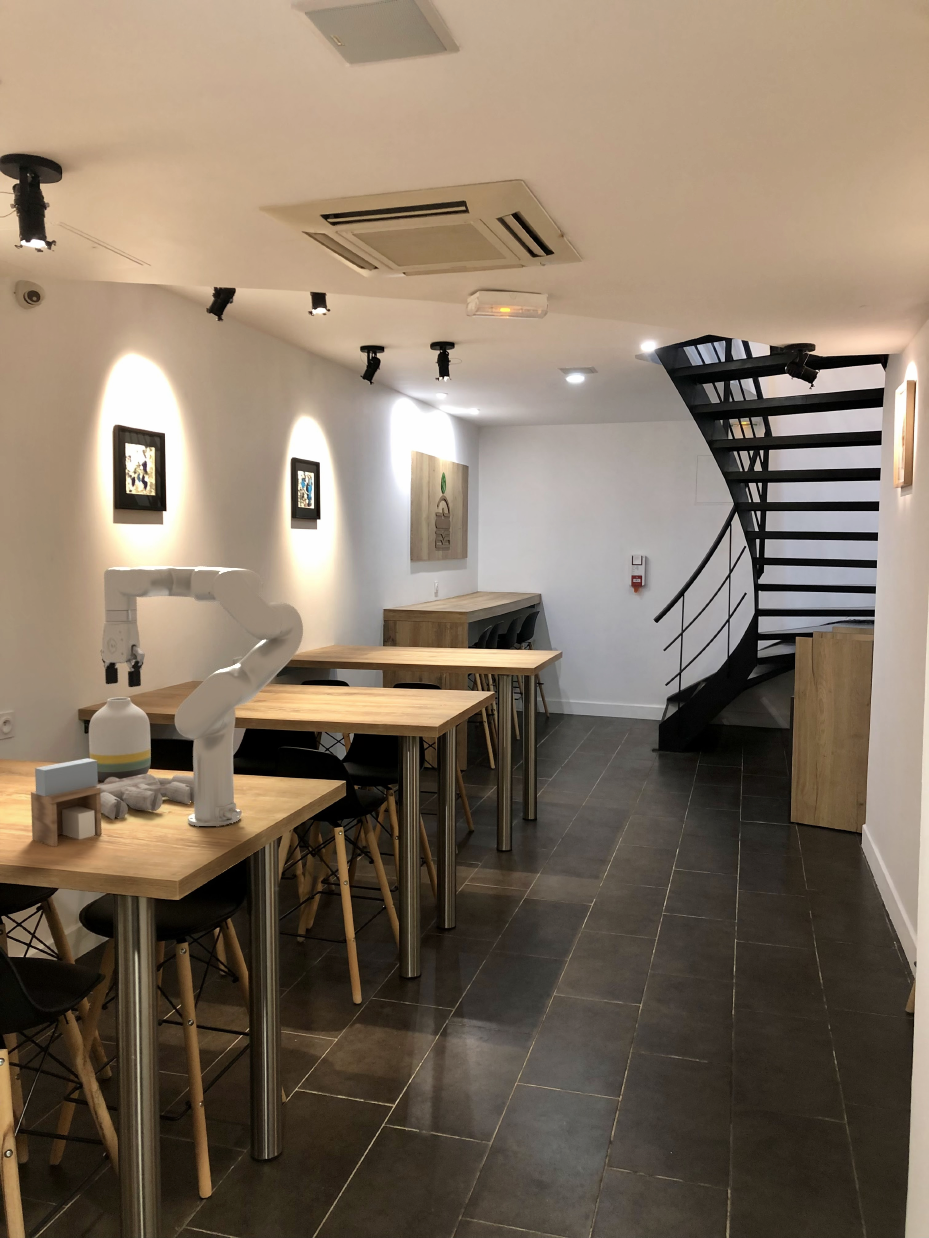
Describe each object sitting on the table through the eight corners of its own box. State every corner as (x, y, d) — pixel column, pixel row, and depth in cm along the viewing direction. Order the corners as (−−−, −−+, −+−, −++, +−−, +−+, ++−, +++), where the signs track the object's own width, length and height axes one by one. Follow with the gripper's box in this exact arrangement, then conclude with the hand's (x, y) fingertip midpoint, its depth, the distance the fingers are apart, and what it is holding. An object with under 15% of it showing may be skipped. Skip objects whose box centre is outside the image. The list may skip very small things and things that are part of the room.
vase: (162, 778, 276) (160, 698, 274) (107, 789, 263) (105, 705, 261) (133, 770, 287) (131, 693, 285) (79, 780, 274) (77, 699, 273)
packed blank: (95, 835, 219) (94, 810, 219) (79, 839, 216) (78, 814, 215) (78, 830, 223) (77, 805, 223) (62, 834, 220) (62, 809, 220)
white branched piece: (218, 798, 255) (146, 780, 271) (218, 773, 254) (146, 756, 270) (122, 830, 229) (48, 808, 245) (121, 802, 228) (47, 781, 244)
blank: (44, 796, 211) (44, 770, 210) (35, 793, 213) (35, 767, 213) (97, 785, 221) (97, 760, 221) (88, 782, 224) (87, 758, 223)
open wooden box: (101, 834, 220) (100, 787, 219) (53, 846, 210) (51, 797, 209) (80, 827, 225) (78, 782, 224) (32, 839, 216) (30, 792, 215)
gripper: (87, 616, 235) (90, 684, 236) (128, 619, 225) (130, 689, 226) (114, 615, 241) (116, 680, 242) (155, 617, 231) (156, 686, 232)
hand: (123, 685), depth 234 cm, fingers open, 9 cm apart
